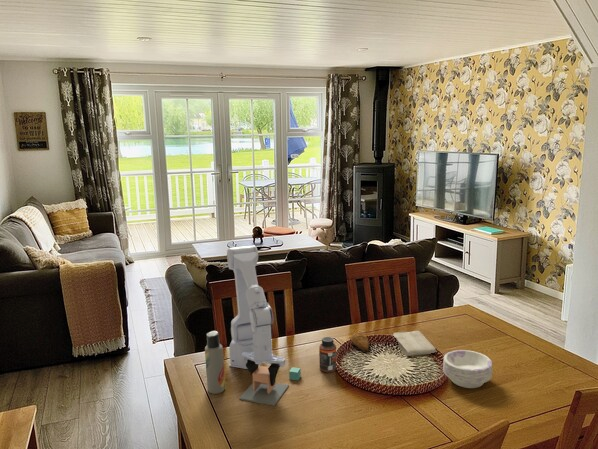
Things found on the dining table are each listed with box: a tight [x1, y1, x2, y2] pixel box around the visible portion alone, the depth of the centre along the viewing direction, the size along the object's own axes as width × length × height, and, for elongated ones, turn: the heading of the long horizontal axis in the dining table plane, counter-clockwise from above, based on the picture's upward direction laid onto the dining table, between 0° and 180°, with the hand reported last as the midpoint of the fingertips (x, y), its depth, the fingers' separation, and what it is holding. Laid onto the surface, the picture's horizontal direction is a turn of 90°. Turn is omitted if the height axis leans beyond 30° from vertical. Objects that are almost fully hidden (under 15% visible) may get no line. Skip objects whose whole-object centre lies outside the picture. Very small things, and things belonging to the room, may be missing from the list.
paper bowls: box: [442, 349, 493, 389], centre depth 160 cm, size 15×15×8 cm
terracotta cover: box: [252, 365, 277, 394], centre depth 156 cm, size 6×6×6 cm
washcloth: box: [392, 330, 437, 357], centre depth 188 cm, size 12×18×3 cm, turn 9°
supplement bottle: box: [318, 336, 337, 373], centre depth 170 cm, size 6×6×11 cm
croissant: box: [350, 332, 370, 352], centre depth 189 cm, size 14×7×5 cm, turn 14°
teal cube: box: [288, 367, 302, 381], centre depth 166 cm, size 3×3×3 cm
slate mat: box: [239, 382, 290, 407], centre depth 157 cm, size 12×12×1 cm
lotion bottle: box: [204, 330, 226, 395], centre depth 158 cm, size 6×6×20 cm
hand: (264, 383), depth 156 cm, fingers closed on terracotta cover, 5 cm apart
